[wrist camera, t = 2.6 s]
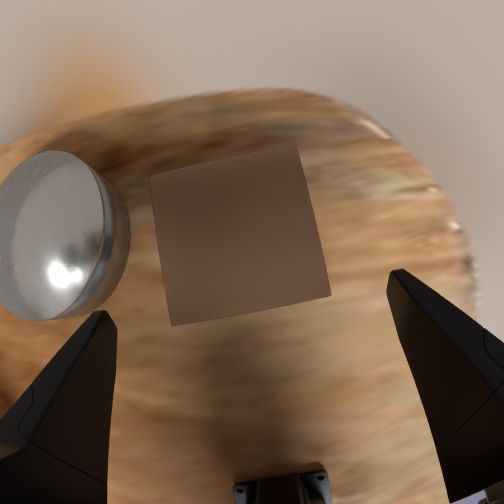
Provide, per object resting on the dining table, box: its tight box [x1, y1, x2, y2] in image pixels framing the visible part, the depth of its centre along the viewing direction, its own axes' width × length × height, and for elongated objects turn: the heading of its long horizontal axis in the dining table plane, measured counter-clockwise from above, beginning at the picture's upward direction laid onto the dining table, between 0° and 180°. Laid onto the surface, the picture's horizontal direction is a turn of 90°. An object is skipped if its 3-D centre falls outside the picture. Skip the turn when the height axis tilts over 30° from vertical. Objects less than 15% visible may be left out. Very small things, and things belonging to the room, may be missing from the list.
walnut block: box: [150, 145, 332, 326], centre depth 15 cm, size 5×5×10 cm
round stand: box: [0, 150, 130, 321], centre depth 19 cm, size 11×11×4 cm
